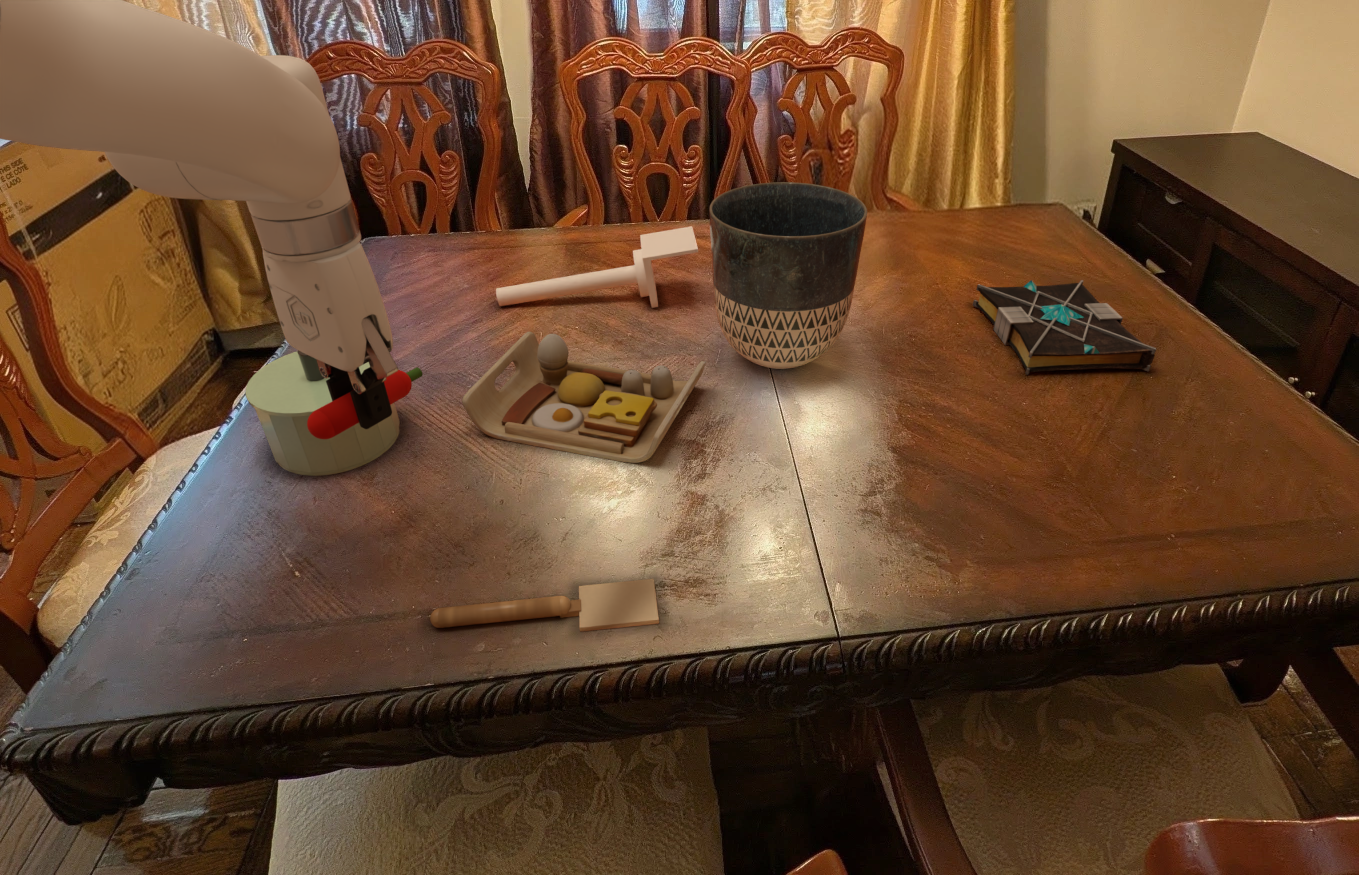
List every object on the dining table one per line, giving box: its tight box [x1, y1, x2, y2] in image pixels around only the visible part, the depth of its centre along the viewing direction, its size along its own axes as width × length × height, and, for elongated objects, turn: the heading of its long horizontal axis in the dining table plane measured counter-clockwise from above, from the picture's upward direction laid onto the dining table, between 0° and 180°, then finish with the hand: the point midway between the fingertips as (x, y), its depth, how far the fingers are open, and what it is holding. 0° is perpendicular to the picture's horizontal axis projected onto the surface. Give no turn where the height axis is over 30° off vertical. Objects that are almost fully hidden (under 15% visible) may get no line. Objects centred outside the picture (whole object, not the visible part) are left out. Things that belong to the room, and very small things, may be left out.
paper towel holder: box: [495, 225, 699, 309], centre depth 126 cm, size 9×9×32 cm
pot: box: [254, 402, 401, 477], centre depth 96 cm, size 15×15×8 cm
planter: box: [708, 181, 868, 370], centre depth 106 cm, size 20×20×21 cm
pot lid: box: [245, 350, 370, 417], centre depth 92 cm, size 15×15×5 cm
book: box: [972, 279, 1157, 376], centre depth 114 cm, size 22×17×5 cm
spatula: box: [429, 578, 660, 633], centre depth 74 cm, size 21×5×2 cm, turn 97°
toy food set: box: [461, 331, 707, 464], centre depth 100 cm, size 25×18×8 cm
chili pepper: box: [307, 366, 424, 439], centre depth 75 cm, size 12×3×3 cm, turn 145°
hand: (364, 414), depth 75 cm, fingers closed on chili pepper, 2 cm apart
